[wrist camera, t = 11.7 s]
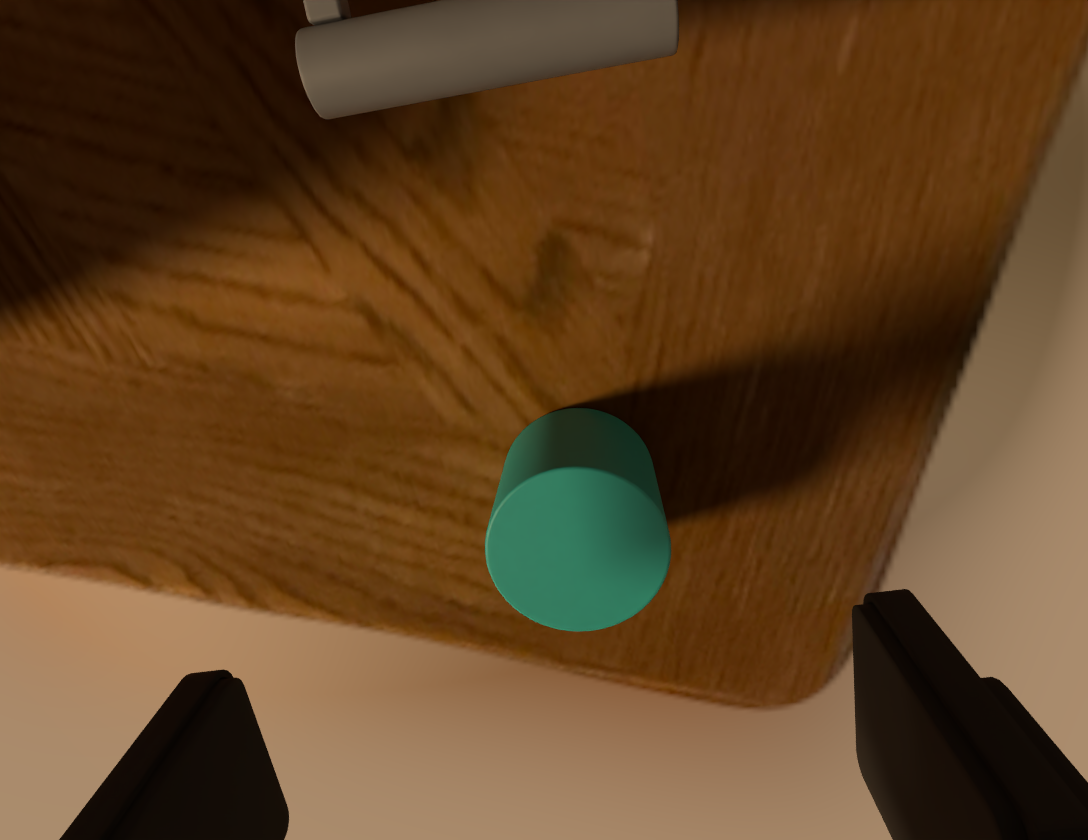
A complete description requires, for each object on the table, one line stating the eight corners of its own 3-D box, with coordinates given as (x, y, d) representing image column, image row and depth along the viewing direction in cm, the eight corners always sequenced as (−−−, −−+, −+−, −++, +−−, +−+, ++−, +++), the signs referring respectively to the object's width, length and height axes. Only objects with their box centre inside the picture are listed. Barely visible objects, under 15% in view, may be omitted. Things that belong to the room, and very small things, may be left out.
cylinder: (644, 396, 18) (660, 455, 15) (661, 536, 20) (680, 622, 16) (491, 418, 19) (468, 480, 15) (517, 553, 20) (502, 641, 16)
